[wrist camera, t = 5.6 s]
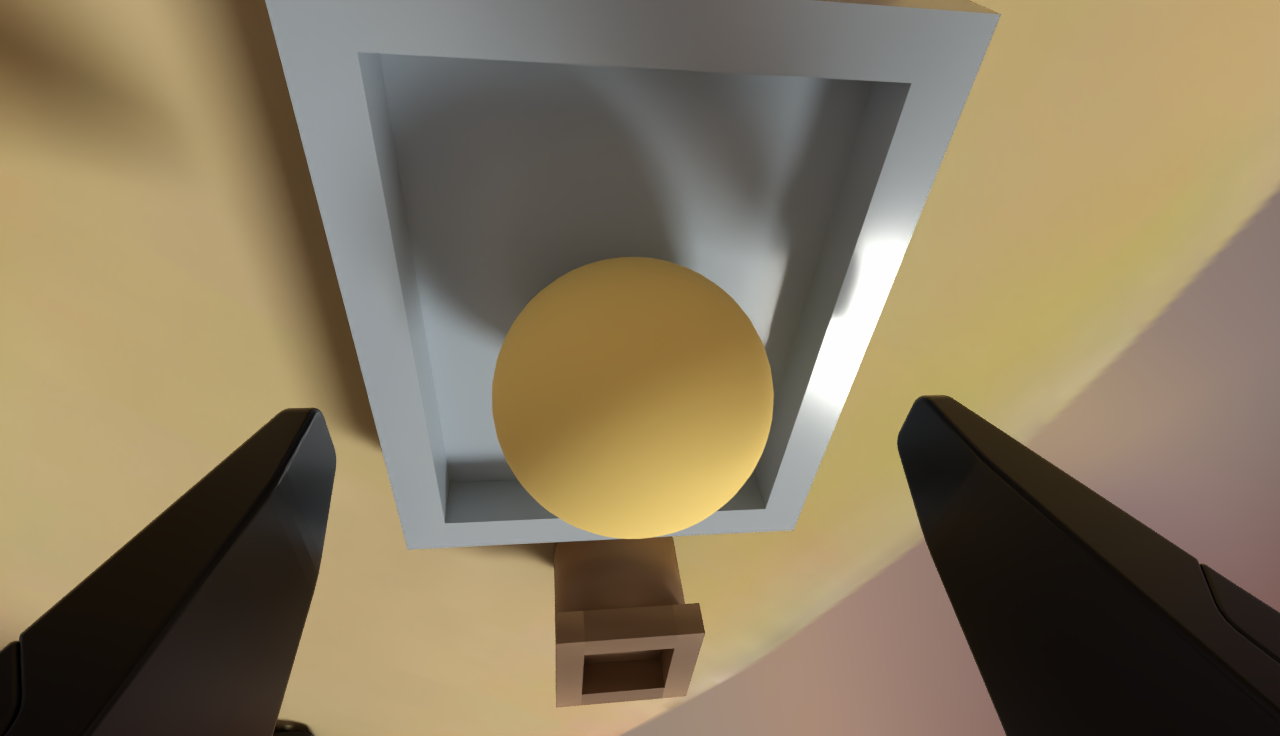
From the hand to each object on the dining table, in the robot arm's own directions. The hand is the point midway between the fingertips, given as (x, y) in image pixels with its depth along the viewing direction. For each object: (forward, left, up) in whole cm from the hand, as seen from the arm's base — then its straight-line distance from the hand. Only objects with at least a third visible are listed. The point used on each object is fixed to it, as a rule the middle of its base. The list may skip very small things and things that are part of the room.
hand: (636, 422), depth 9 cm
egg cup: (-8, -1, -4) cm, 9 cm away
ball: (0, 0, 0) cm, 0 cm away
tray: (0, 0, -4) cm, 4 cm away
